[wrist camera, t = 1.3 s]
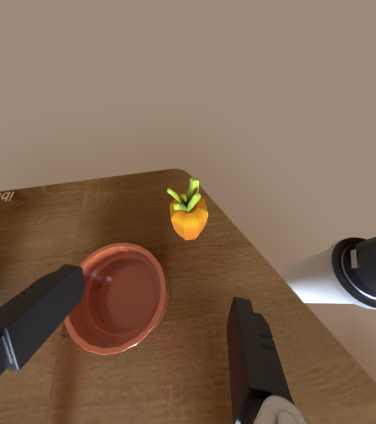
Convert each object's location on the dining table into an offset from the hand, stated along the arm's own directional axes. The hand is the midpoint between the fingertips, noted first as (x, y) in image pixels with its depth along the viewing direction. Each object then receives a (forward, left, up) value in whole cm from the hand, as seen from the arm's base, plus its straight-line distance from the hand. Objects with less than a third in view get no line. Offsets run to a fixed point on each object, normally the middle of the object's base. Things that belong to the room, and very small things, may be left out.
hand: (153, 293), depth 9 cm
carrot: (-3, -10, -20) cm, 23 cm away
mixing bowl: (+7, -2, -20) cm, 21 cm away
